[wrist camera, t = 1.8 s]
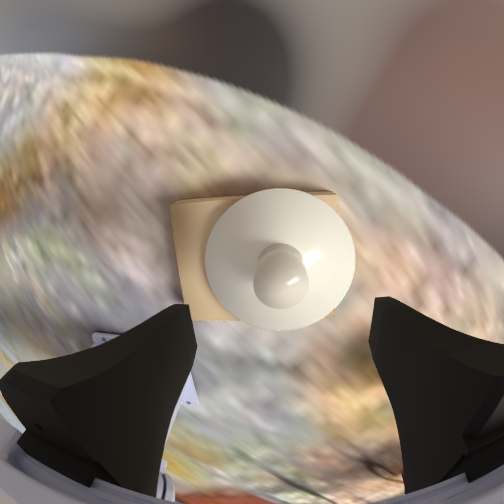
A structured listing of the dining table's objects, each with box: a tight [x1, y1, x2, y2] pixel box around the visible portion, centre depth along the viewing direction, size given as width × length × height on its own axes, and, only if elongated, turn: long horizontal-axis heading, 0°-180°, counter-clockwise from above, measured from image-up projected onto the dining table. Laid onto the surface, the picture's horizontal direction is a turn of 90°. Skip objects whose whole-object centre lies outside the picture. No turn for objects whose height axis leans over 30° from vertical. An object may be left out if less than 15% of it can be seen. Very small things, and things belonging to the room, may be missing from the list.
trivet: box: [169, 191, 338, 321], centre depth 18 cm, size 10×8×2 cm
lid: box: [205, 188, 355, 331], centre depth 16 cm, size 9×9×3 cm
